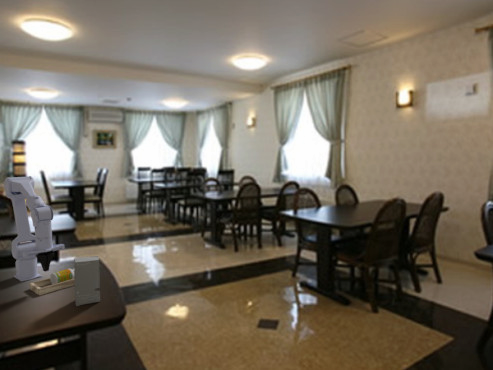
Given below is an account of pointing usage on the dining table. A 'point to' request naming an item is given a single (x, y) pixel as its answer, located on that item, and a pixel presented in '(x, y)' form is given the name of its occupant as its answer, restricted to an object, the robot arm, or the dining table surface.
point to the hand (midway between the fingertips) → (45, 270)
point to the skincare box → (87, 280)
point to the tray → (40, 291)
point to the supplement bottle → (62, 276)
